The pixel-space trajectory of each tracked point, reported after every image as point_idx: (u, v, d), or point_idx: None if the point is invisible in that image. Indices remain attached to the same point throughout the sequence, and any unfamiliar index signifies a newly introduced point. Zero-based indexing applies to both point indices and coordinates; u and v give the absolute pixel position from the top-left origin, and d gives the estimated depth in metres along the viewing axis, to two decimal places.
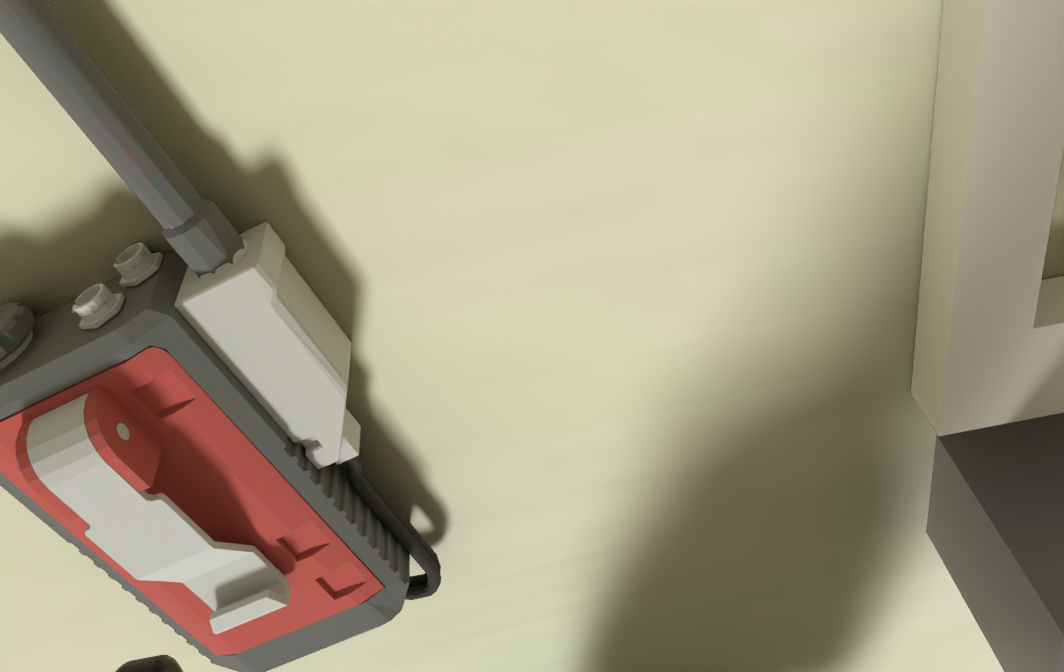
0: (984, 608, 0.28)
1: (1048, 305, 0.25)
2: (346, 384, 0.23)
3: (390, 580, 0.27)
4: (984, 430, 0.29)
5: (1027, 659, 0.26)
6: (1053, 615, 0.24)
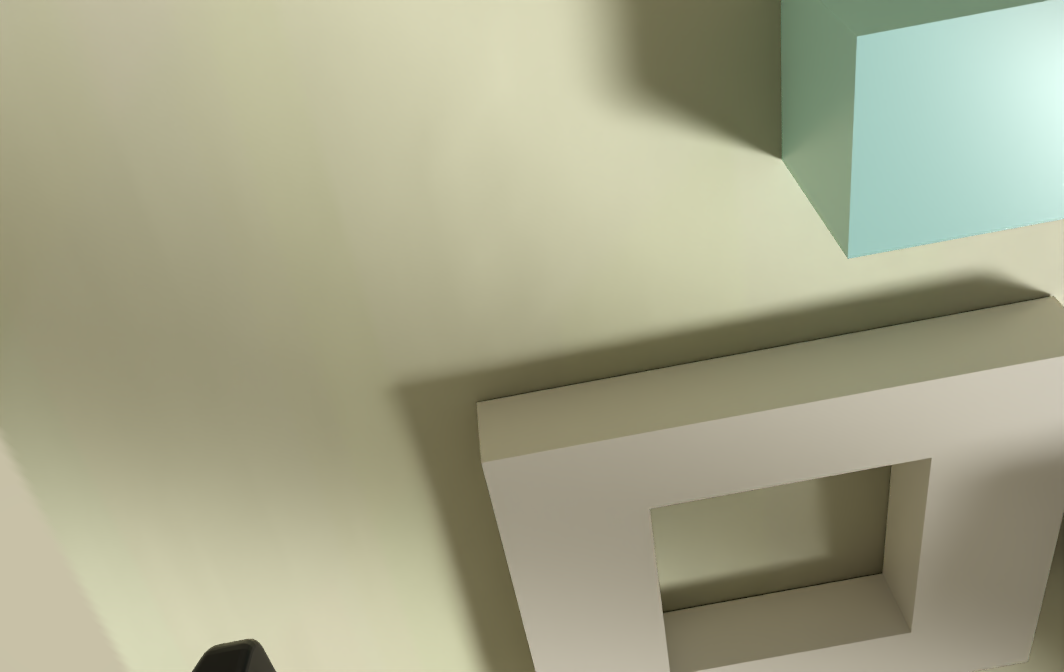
0: None
1: (900, 586, 0.24)
2: None
3: None
4: None
5: None
6: None
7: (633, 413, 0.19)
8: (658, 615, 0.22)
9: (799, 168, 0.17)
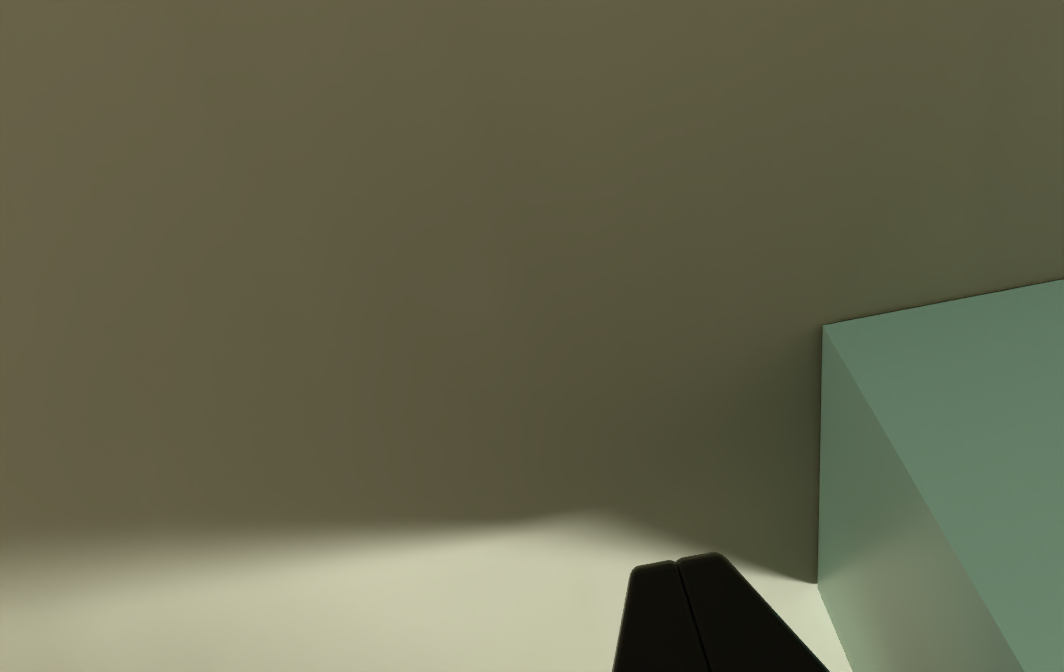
0: None
1: None
2: None
3: None
4: None
5: None
6: None
7: None
8: None
9: (857, 659, 0.09)
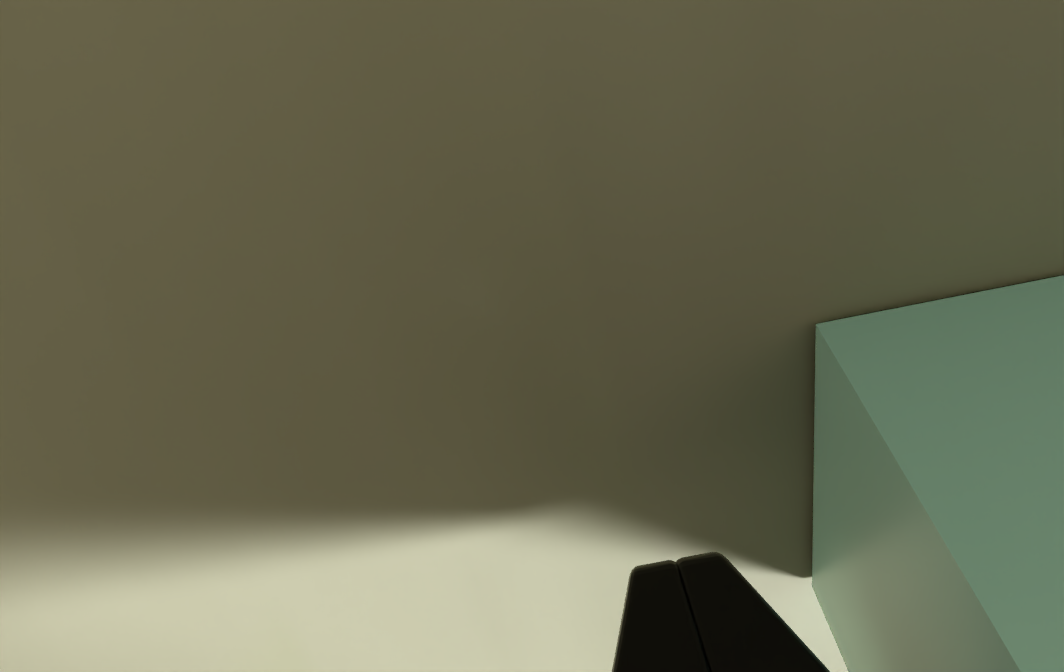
0: None
1: None
2: None
3: None
4: None
5: None
6: None
7: None
8: None
9: (852, 656, 0.09)
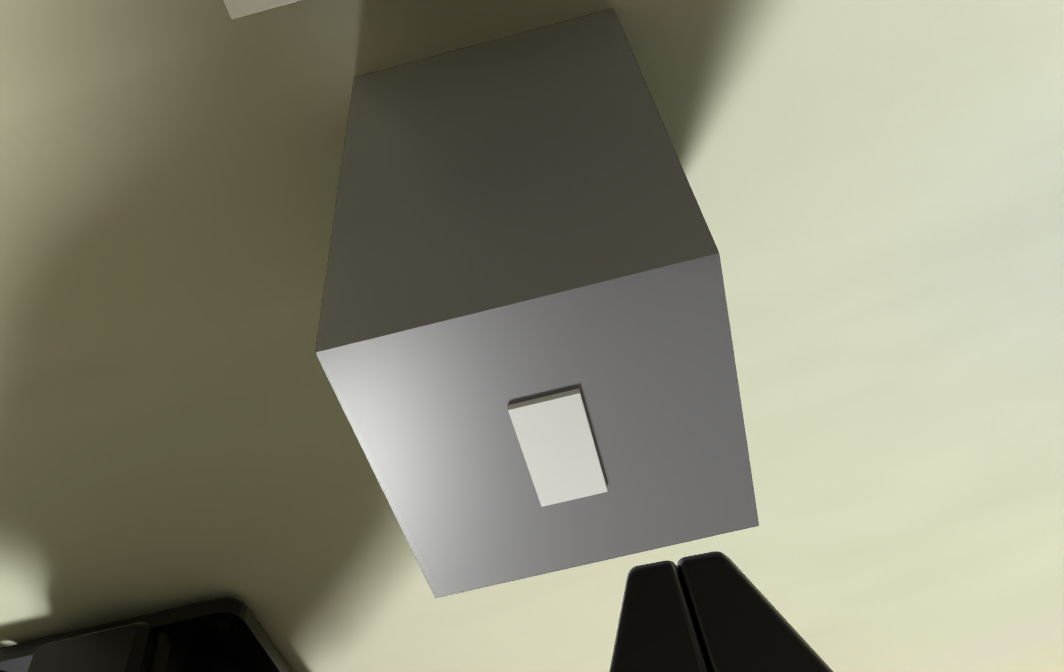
0: None
1: None
2: None
3: None
4: (435, 60, 0.15)
5: None
6: (323, 319, 0.11)
7: None
8: None
9: None
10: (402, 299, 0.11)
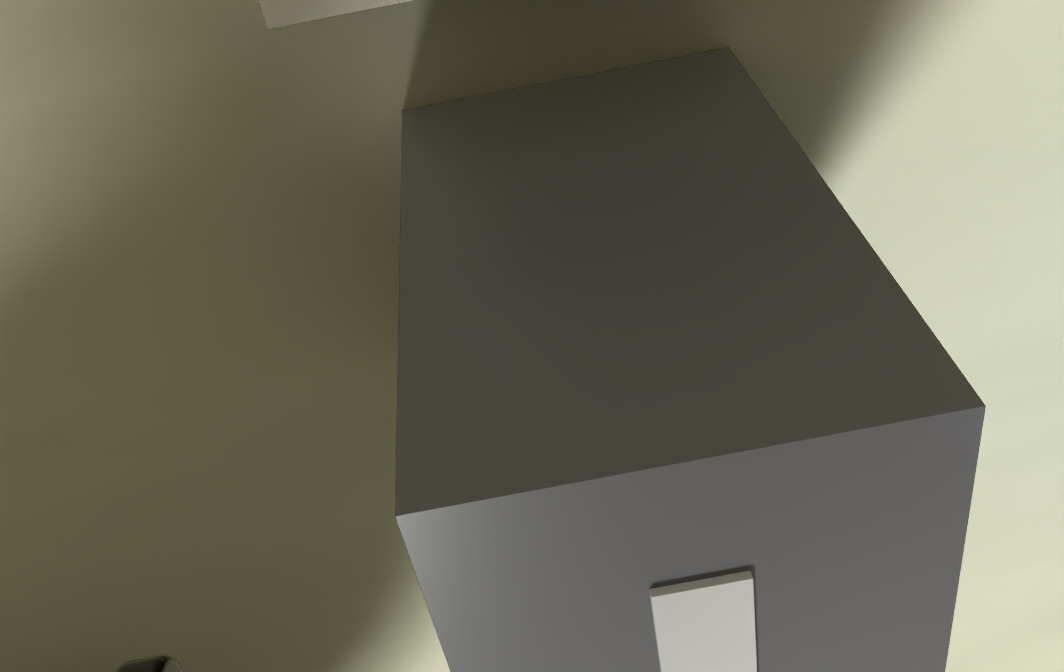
0: None
1: None
2: None
3: None
4: (506, 96, 0.12)
5: None
6: (402, 460, 0.07)
7: None
8: None
9: None
10: (517, 438, 0.07)
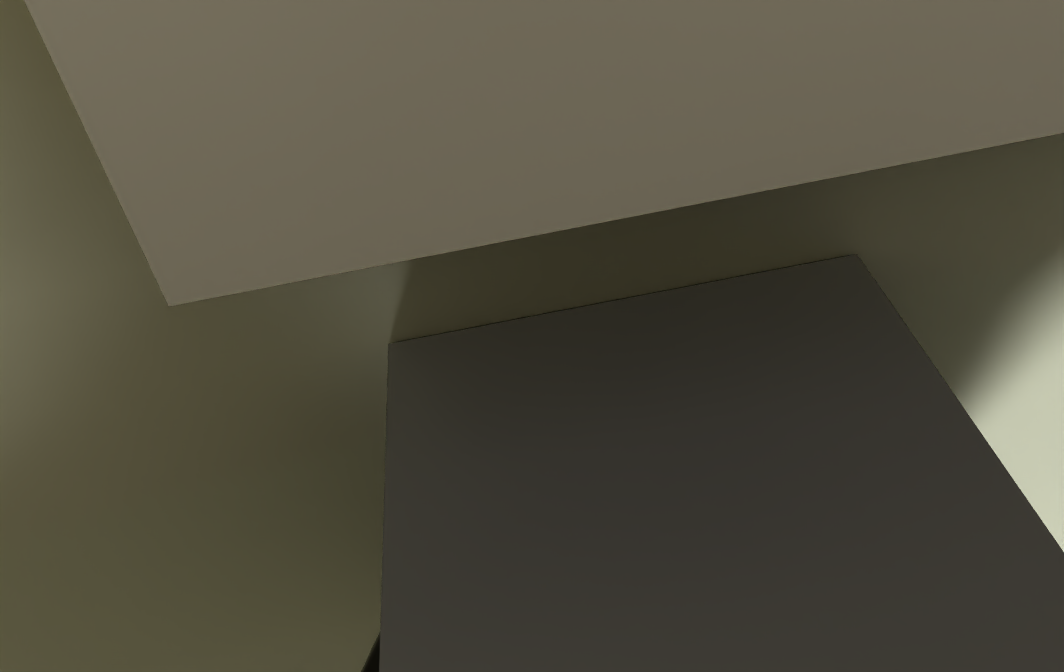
0: None
1: None
2: None
3: None
4: (538, 327, 0.09)
5: None
6: None
7: None
8: None
9: None
10: None
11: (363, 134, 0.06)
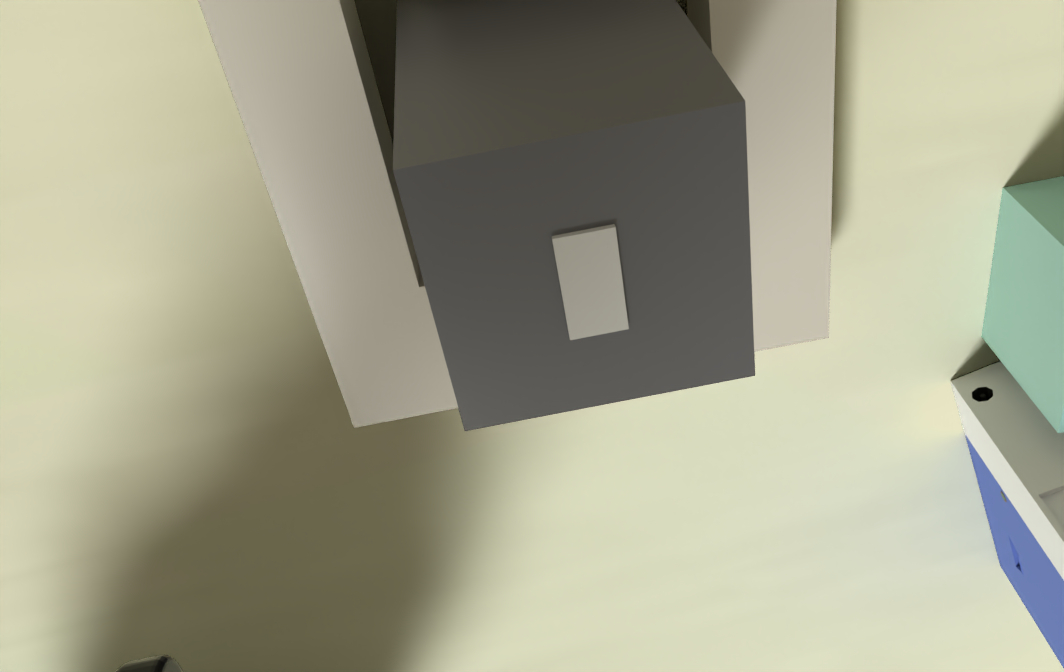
0: None
1: None
2: None
3: None
4: None
5: None
6: (397, 148, 0.12)
7: None
8: None
9: (1043, 207, 0.20)
10: (467, 133, 0.12)
11: (414, 382, 0.20)
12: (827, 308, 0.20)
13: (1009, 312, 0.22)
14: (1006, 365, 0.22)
